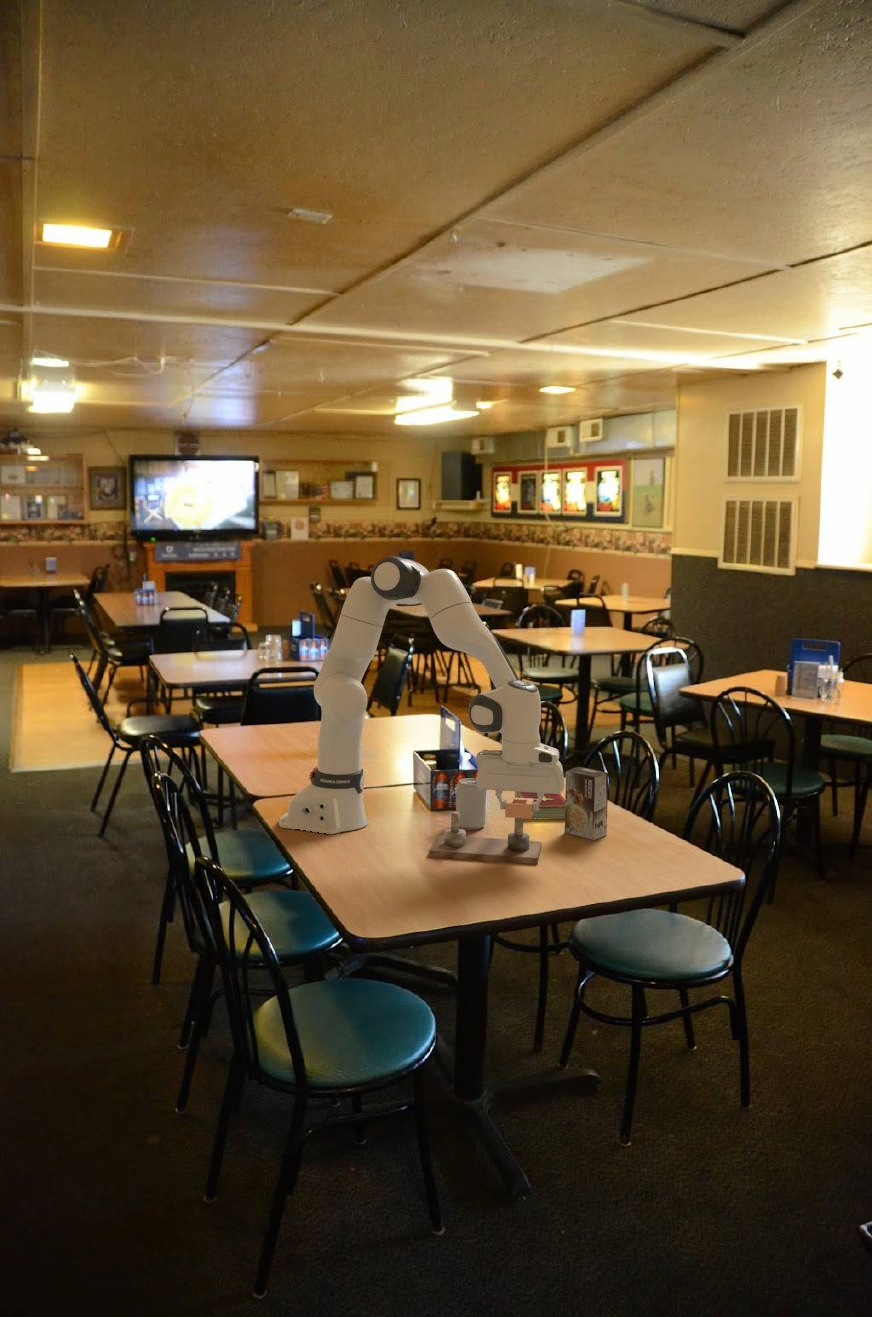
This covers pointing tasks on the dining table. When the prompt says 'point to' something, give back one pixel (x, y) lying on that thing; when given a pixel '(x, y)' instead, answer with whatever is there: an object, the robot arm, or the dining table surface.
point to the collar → (519, 808)
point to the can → (470, 804)
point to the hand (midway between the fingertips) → (519, 809)
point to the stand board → (486, 845)
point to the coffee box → (586, 803)
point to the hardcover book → (546, 805)
